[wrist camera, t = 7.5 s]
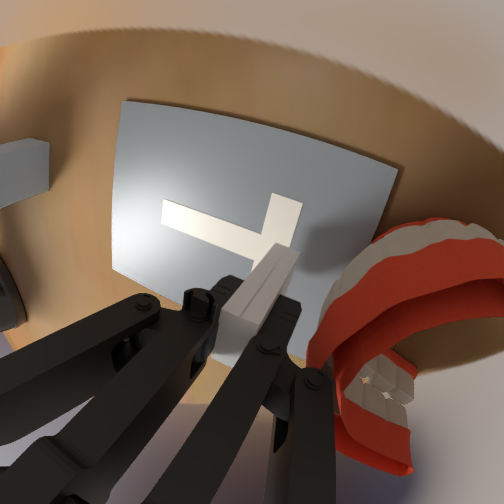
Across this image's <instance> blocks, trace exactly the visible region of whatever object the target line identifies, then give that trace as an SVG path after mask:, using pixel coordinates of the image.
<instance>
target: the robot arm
mask: <svg viewBox="0 0 504 504" xmlns="http://www.w3.org/2000/svg"><path fill="white" fill-rule="evenodd" d="M300 253H301V252H300V251H297V250H294V249H292V248H289V247H286V246H284V245H281V244H279V243H275V244H274V245H273V246H272V248H271V249H270V250H269V251H268V252H267V254H266V255H265V256H264V257H263V259H262V260H261V261H260V262H259V264H258V265H257V266H256V267H255V268H254V270H253V271H252V272H251V273H250V275H249V276H248V277H247V278H246V279H245V280H242V279H240V278H237V277H235V276H233V275H228V276H225V277H223V278H221V279H220V280H219V281H218V282H217V283H216V285H214V286H213V287H212V288H211V289H210V290H206V289H203V288H191V289H188V290H186V291H184V297H183V306H182V309H181V310H180V311H177V310H171V309H166V308H162V307H161V305H160V301H159V300H158V299H157V297H155V296H153V295H151V294H147V293H138V294H135V295H132V296H130V297H128V298H126V299H124V300H122V301H120V302H117V303H115V304H113V305H111V306H109V307H107V308H105V309H102V310H100V311H98V312H96V313H94V314H92V315H90V316H88V317H86V318H83V319H81V320H79V321H77V322H75V323H73V324H71V325H69V326H67V327H65V328H62V329H60V330H58V331H56V332H54V333H52V334H50V335H48V336H46V337H44V338H42V339H40V340H37V341H35V342H33V343H31V344H29V345H27V346H25V347H23V348H21V349H19V350H17V351H15V352H13V353H11V354H9V355H6V356H4V357H2V358H0V446H2V445H6V444H9V443H12V442H14V441H16V440H18V439H20V438H22V437H24V436H26V435H28V434H30V433H31V432H33V431H35V430H37V429H39V428H40V427H42V426H44V425H45V424H47V423H49V422H51V421H52V420H54V419H56V418H58V417H59V416H61V415H63V414H65V413H66V412H68V411H70V410H71V409H73V408H75V407H77V406H78V405H80V404H82V403H83V402H85V401H87V400H88V399H90V398H92V397H93V396H94V397H93V398H92V399H91V400H90V401H89V402H88V403H87V404H86V405H85V406H84V407H83V408H82V409H81V410H80V411H79V412H78V413H77V414H76V416H74V417H73V418H72V419H71V420H70V422H69V423H68V424H67V425H66V426H65V427H64V428H63V429H62V430H61V431H60V432H59V433H57V434H56V435H54V436H44V437H41V438H39V439H37V440H36V441H35V442H34V443H32V444H31V445H30V447H28V448H27V449H26V450H25V452H23V453H22V454H21V456H20V457H19V458H18V459H17V460H16V461H15V462H14V463H13V464H12V465H11V466H5V467H4V466H2V467H0V504H105V503H106V502H107V500H108V498H109V496H110V492H111V490H112V488H113V487H114V485H115V484H116V483H117V482H118V480H119V479H120V478H121V477H122V475H123V474H124V473H125V472H126V470H127V469H128V468H129V467H130V465H131V464H132V463H133V461H134V460H135V459H136V458H137V456H138V455H139V454H140V452H141V451H142V450H143V449H144V447H145V446H146V445H147V443H148V442H149V441H150V440H151V438H152V437H153V436H154V434H155V433H156V432H157V430H158V429H159V428H160V426H161V425H162V424H163V422H164V421H165V420H166V418H167V417H168V416H169V414H170V413H171V412H172V410H173V409H174V408H175V406H176V405H177V404H178V402H179V401H180V400H181V398H182V397H183V396H184V394H185V393H186V392H187V390H188V389H189V388H190V386H191V385H192V384H193V382H194V381H195V379H196V378H197V377H198V375H199V374H200V373H201V371H202V370H203V368H204V367H205V365H206V362H207V357H208V356H209V355H210V353H211V352H212V356H211V358H212V359H214V360H216V361H219V362H221V363H223V364H225V365H227V366H229V367H231V368H232V370H231V372H230V373H229V375H228V376H227V378H226V380H225V381H224V383H223V384H222V386H221V388H220V389H219V391H218V392H217V394H216V395H215V397H214V399H213V400H212V402H211V403H210V405H209V406H208V408H207V409H206V411H205V413H204V414H203V416H202V417H201V419H200V420H199V422H198V423H197V425H196V426H195V428H194V430H193V431H192V432H191V434H190V435H189V437H188V438H187V440H186V441H185V443H184V444H183V446H182V447H181V449H180V450H179V452H178V453H177V455H176V456H175V458H174V459H173V461H172V462H171V463H170V465H169V467H168V468H167V469H166V471H165V472H164V473H163V475H162V477H161V478H160V479H159V481H158V482H157V483H156V485H155V486H154V488H153V489H152V491H151V492H150V493H149V495H148V496H147V497H146V499H145V500H144V501H143V502H142V503H141V504H210V502H211V501H212V499H213V497H214V495H215V494H216V492H217V490H218V488H219V487H220V485H221V483H222V481H223V479H224V477H225V475H226V474H227V472H228V470H229V468H230V466H231V464H232V463H233V461H234V459H235V457H236V455H237V453H238V451H239V449H240V447H241V445H242V443H243V441H244V439H245V437H246V435H247V433H248V431H249V429H250V427H251V425H252V423H253V421H254V419H255V417H256V415H257V413H258V411H259V409H260V407H261V405H263V406H264V407H265V408H266V409H268V410H269V411H270V412H272V413H273V414H274V416H273V426H272V435H271V443H270V452H269V460H268V468H267V476H266V484H265V491H264V499H263V504H336V459H335V458H336V456H335V426H334V406H333V390H332V383H331V379H330V378H329V376H328V375H327V374H326V373H325V372H323V371H322V370H320V369H317V368H314V367H306V368H303V369H301V368H300V367H298V366H297V365H296V364H294V363H293V362H292V361H291V359H290V358H289V356H288V354H287V346H288V343H289V341H290V339H291V336H292V334H293V331H294V329H295V327H296V324H297V322H298V319H299V317H300V314H301V312H302V308H301V303H300V302H298V301H296V300H293V299H291V298H288V297H286V296H285V295H286V293H287V290H288V287H289V284H290V282H291V279H292V276H293V273H294V270H295V267H296V265H297V262H298V259H299V256H300ZM25 322H26V314H25V310H24V306H23V303H22V301H21V298H20V295H19V293H18V290H17V288H16V286H15V283H14V281H13V279H12V277H11V275H10V273H9V271H8V269H7V267H6V266H5V264H4V262H3V261H2V259H1V258H0V332H3V331H6V330H9V329H12V328H18V327H19V326H21V325H22V324H23V323H25Z"/></svg>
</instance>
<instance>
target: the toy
mask: <svg viewBox="0 0 504 504" xmlns="http://www.w3.org/2000/svg"><path fill="white" fill-rule="evenodd" d="M486 317H504V241H503V240H501V239H499V240H497V239H496V237H495V236H494V235H493V234H492V233H491V232H489V231H488V230H486V229H485V228H483V227H481V226H479V225H477V224H474V223H471V224H470V225H467V224H466V223H464V222H462V221H459V220H450V219H448V218H428V219H426V220H424V221H415V222H409V223H405V224H402V225H398V226H395V227H393V228H391V229H389V230H388V231H387V232H386V233H384V234H382V235H379V236H378V237H377V238H376V239H375V240H374V241H373V242H372V243H371V244H370V245H369V246H368V247H366V248H365V249H364V250H363V251H362V252H361V253H360V254H359V255H358V256H357V257H355V258H354V259H353V260H352V261H351V262H350V263H349V264H348V265H347V267H346V268H345V269H344V270H343V273H342V276H341V279H338V280H336V281H335V282H334V284H333V285H332V287H331V289H330V291H329V293H328V295H327V297H326V299H325V301H324V303H323V306H322V308H321V312H320V317H319V321H318V325H317V329H316V332H315V334H314V335H313V337H312V338H311V339H310V341H309V343H308V347H307V351H306V367H314V368H317V369H320V370H322V371H323V372H325V373H326V374H327V375H328V376H329V378H330V379H331V383H332V390H333V406H334V426H335V449H336V450H338V451H339V452H341V453H343V454H344V455H346V456H348V457H350V458H353V459H355V460H357V461H360V462H362V463H364V464H366V465H369V466H371V467H373V468H376V469H379V470H382V471H385V472H388V473H391V474H394V475H398V476H405V475H408V474H411V473H413V472H414V470H413V466H412V461H411V453H410V430H409V429H408V424H407V415H406V409H405V407H404V406H402V405H401V404H404V405H405V404H408V403H409V402H411V401H412V400H413V399H414V379H415V378H416V376H417V368H416V367H415V366H414V365H413V364H411V363H410V362H409V361H407V360H405V359H404V358H403V357H401V356H400V355H399V354H397V353H396V352H395V351H394V350H392V349H391V347H392V346H394V345H395V344H397V343H398V342H400V341H401V340H403V339H404V338H406V337H408V336H409V335H411V334H414V333H416V332H419V331H422V330H425V329H428V328H432V327H435V326H439V325H443V324H446V323H450V322H454V321H459V320H464V319H473V318H486ZM357 374H358V375H359V376H358V375H357ZM360 377H362V378H364V377H367V379H368V382H369V383H370V384H371V385H370V384H368V383H365V384H363V381H362V379H361V378H360ZM374 387H375V388H374ZM377 389H378V390H377ZM380 391H381V392H387V393H388V395H389V397H391V398H392V399H393V400H392V399H390V398H388V399H385V397H384V395H383V394H382V393H381V392H380ZM394 400H395V401H394ZM396 401H397V402H396ZM399 403H400V404H399Z"/></svg>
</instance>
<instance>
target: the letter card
mask: <svg viewBox="0 0 504 504" xmlns="http://www.w3.org/2000/svg"><path fill="white" fill-rule="evenodd" d="M397 172H398V169H396V168H394V167H392V166H389V165H387V164H384V163H382V162H379V161H377V160H374V159H371V158H369V157H366V156H363V155H361V154H358V153H355V152H352V151H350V150H347V149H344V148H341V147H338V146H335V145H332V144H329V143H326V142H323V141H320V140H316V139H313V138H310V137H307V136H303V135H300V134H296V133H293V132H289V131H286V130H282V129H279V128H275V127H271V126H267V125H263V124H259V123H255V122H251V121H246V120H242V119H238V118H233V117H228V116H224V115H219V114H214V113H208V112H203V111H197V110H192V109H186V108H179V107H173V106H166V105H158V104H151V103H142V102H133V101H122V105H121V112H120V119H119V127H118V135H117V144H116V154H115V165H114V179H113V199H112V268H113V269H114V270H116V271H117V272H119V273H121V274H123V275H125V276H126V277H128V278H130V279H132V280H134V281H136V282H137V283H139V284H141V285H143V286H145V287H147V288H149V289H151V290H152V291H154V292H156V293H158V294H160V295H162V296H164V297H166V298H168V299H170V300H172V301H174V302H176V303H178V304H180V305H182V306H183V297H184V291H186V290H188V289H191V288H203V289H206V290H210V289H211V288H212V287H213V286H214V285H216V283H217V282H218V281H219V280H220V279H221V278H223V277H225V276H228V275H233V276H235V277H237V278H240V279H242V280H245V279H246V278H247V277H248V276H249V275H250V273H251V272H252V271H253V270H254V268H255V267H256V266H257V265H258V264H259V262H260V261H261V260H262V259H263V257H264V256H265V255H266V254H267V252H268V251H269V250H270V249H271V248H272V246H273V245H274V244H275V243H279V244H281V245H284V246H286V247H289V248H292V249H294V250H297V251H300V252H301V253H300V256H299V259H298V262H297V265H296V267H295V270H294V273H293V276H292V279H291V282H290V284H289V287H288V290H287V293H286V295H285V296H286V297H288V298H291V299H293V300H296V301H298V302H300V303H301V308H302V312H301V314H300V317H299V319H298V322H297V324H296V327H295V329H294V331H293V334H292V336H291V339H290V341H289V343H288V346H287V353H289V354H291V355H294V356H296V357H299V358H301V359H304V360H306V351H307V347H308V343H309V341H310V339H311V338H312V337H313V335H314V334H315V332H316V329H317V325H318V321H319V317H320V312H321V308H322V306H323V303H324V301H325V299H326V297H327V295H328V293H329V291H330V289H331V287H332V285H333V284H334V282H335V281H336V280H338V279H341V276H342V273H343V270H344V269H345V268H346V267H347V265H348V264H349V263H350V262H351V261H352V260H353V259H354V258H355V257H357V256H358V255H359V254H360V253H361V252H362V251H363V250H364V249H365V248H366V247H368V246H369V245H370V243H371V241H372V238H373V236H374V233H375V231H376V228H377V226H378V223H379V221H380V218H381V216H382V213H383V211H384V208H385V205H386V203H387V200H388V197H389V195H390V192H391V189H392V186H393V183H394V181H395V178H396V175H397Z"/></svg>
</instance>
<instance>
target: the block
mask: <svg viewBox="0 0 504 504" xmlns="http://www.w3.org/2000/svg"><path fill="white" fill-rule="evenodd" d="M49 150H50V142H46V141H41V140H37V139H32V138H26V139H22V140H17V141H13V142H9V143H5V144H1V145H0V209H1V208H3V207H6V206H8V205H11V204H13V203H16V202H19V201H21V200H24V199H27V198H29V197H32V196H35V195H37V194H40V193H43V192H46V191H49Z"/></svg>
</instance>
